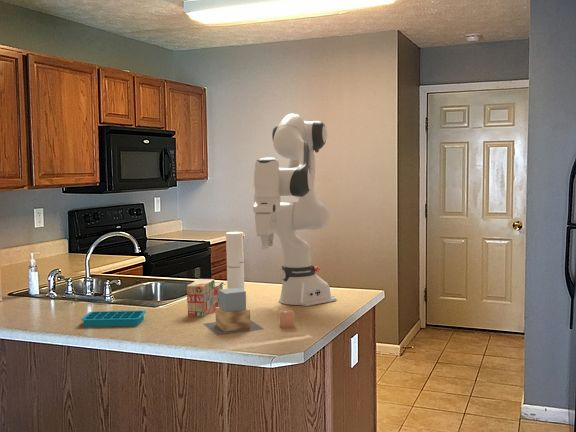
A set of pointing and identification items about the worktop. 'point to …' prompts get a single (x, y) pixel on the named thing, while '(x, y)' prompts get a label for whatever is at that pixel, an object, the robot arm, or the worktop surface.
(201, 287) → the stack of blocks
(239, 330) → the charcoal rubber mat
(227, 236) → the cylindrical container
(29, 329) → the worktop surface
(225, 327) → the oak block
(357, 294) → the worktop surface
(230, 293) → the slate-blue block
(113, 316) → the ice cube tray
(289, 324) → the terracotta cylinder
